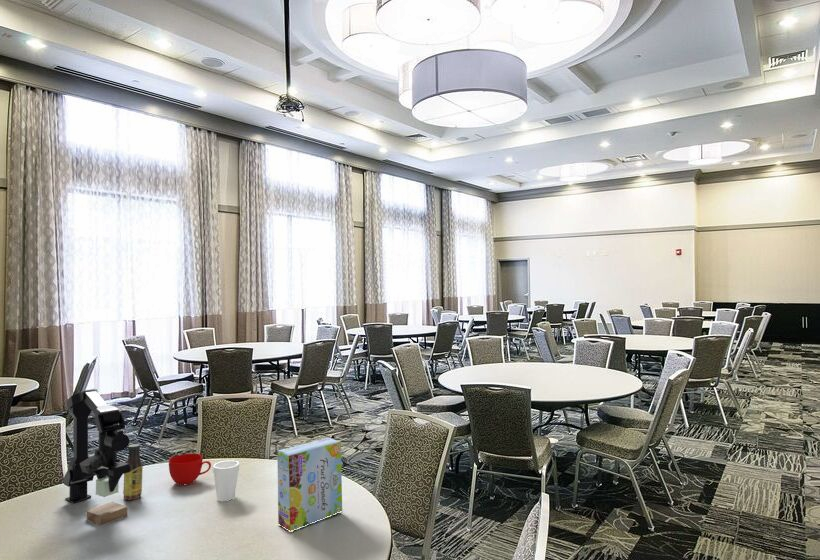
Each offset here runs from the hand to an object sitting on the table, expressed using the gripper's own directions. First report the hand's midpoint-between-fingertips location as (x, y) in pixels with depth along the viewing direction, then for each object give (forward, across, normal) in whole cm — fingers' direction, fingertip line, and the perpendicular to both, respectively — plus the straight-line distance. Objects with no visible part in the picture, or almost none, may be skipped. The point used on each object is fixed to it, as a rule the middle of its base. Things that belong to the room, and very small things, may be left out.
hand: (107, 490), depth 180 cm
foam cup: (+10, +23, +32) cm, 41 cm away
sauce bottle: (+10, -9, +15) cm, 20 cm away
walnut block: (+10, 0, 0) cm, 10 cm away
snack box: (+10, +63, +34) cm, 72 cm away
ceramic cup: (+10, -3, +36) cm, 37 cm away
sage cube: (+1, 0, 0) cm, 1 cm away
